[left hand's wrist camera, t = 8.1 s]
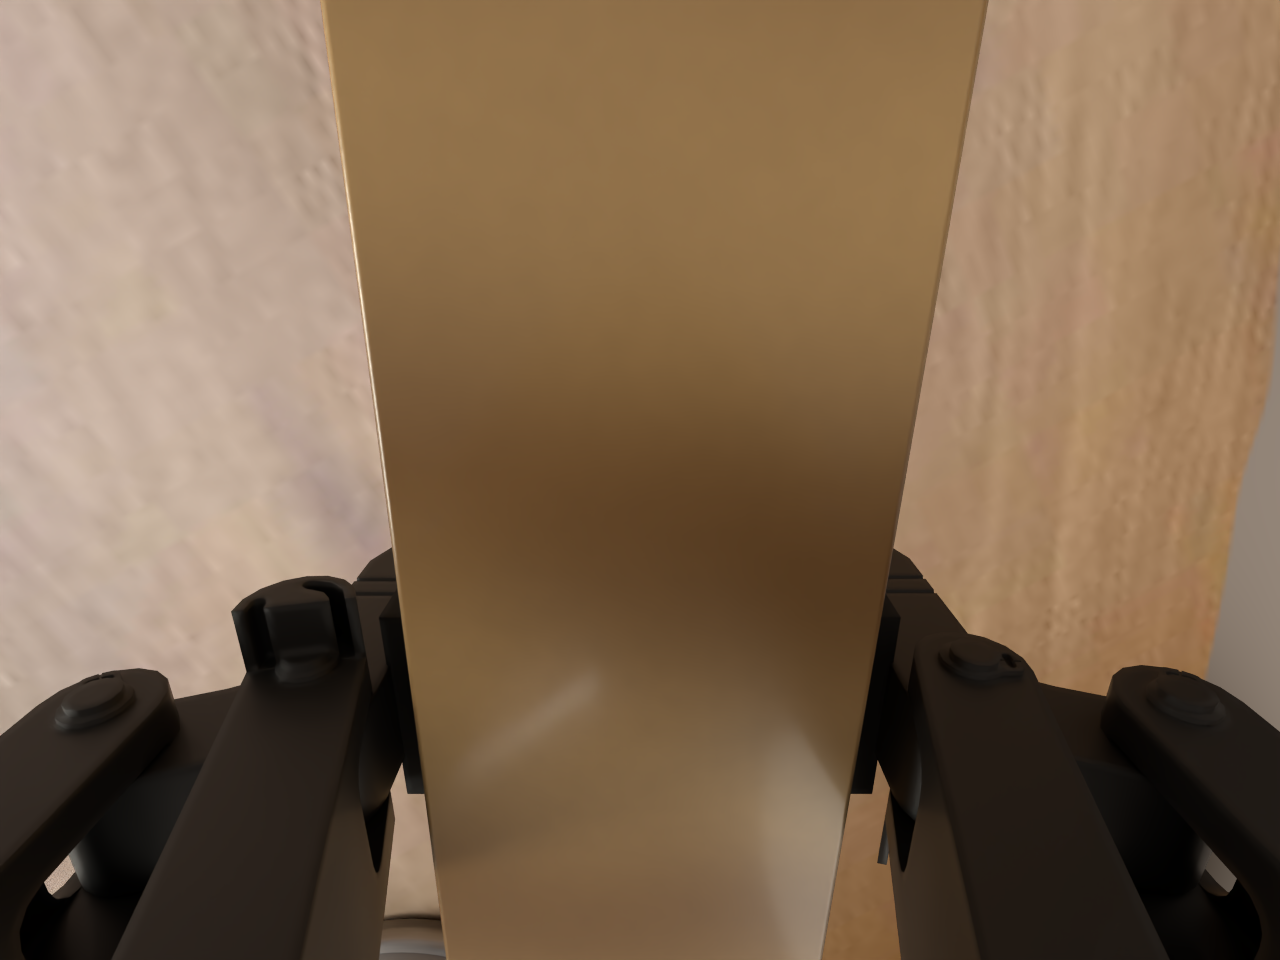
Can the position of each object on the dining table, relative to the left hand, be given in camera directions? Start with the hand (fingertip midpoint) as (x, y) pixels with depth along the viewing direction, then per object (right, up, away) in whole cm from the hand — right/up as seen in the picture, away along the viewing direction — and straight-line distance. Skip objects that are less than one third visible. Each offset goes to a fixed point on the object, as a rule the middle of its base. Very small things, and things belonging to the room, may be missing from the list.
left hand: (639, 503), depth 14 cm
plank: (0, +20, -7) cm, 22 cm away
